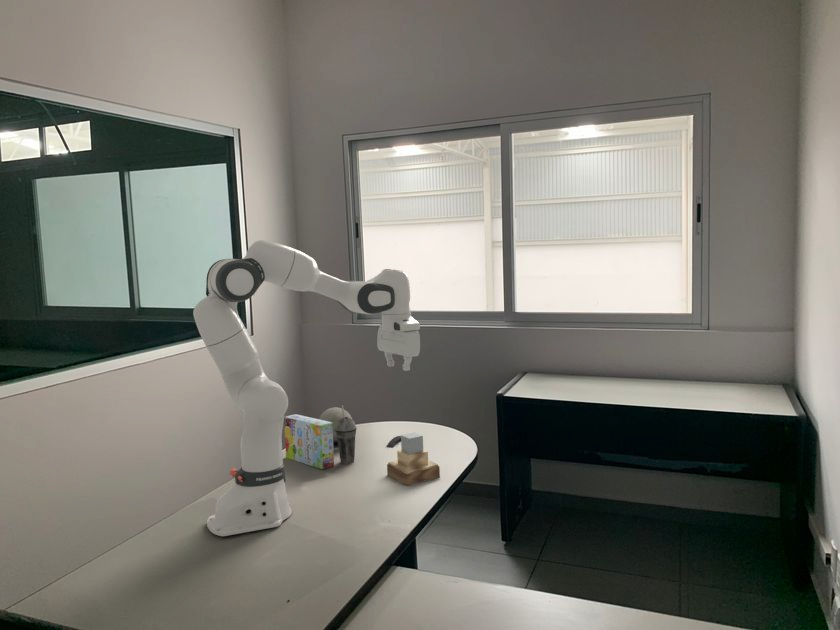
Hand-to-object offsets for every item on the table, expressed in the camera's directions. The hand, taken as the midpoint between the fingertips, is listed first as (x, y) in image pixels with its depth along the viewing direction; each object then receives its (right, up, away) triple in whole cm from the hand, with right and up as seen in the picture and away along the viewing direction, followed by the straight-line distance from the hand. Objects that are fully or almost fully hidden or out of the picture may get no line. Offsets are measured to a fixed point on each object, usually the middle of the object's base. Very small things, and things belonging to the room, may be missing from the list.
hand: (398, 368), depth 189 cm
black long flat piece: (-2, -33, +42) cm, 53 cm away
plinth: (+4, -35, +7) cm, 35 cm away
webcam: (-24, -33, +40) cm, 57 cm away
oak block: (+4, -31, +7) cm, 32 cm away
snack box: (-31, -35, +25) cm, 53 cm away
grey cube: (+4, -27, +7) cm, 28 cm away
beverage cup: (-18, -34, +23) cm, 45 cm away
